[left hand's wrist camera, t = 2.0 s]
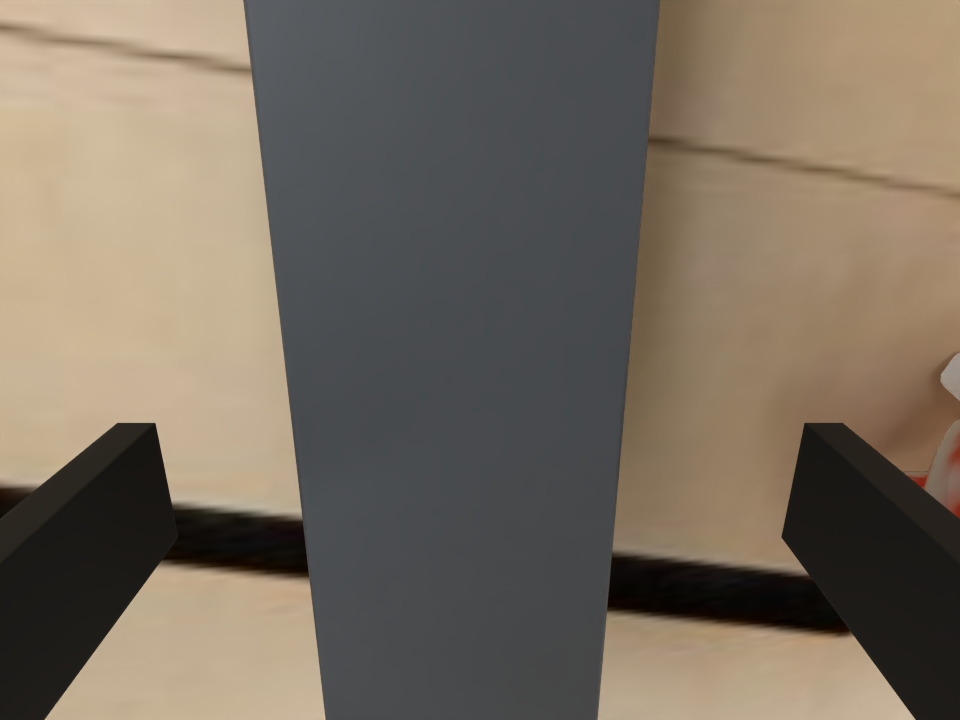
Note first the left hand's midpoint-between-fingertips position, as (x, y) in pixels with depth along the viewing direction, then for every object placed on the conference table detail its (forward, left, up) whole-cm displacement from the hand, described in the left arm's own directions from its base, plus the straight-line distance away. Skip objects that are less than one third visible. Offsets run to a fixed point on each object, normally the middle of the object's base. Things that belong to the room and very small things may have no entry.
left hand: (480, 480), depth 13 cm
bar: (+5, +6, -6) cm, 10 cm away
